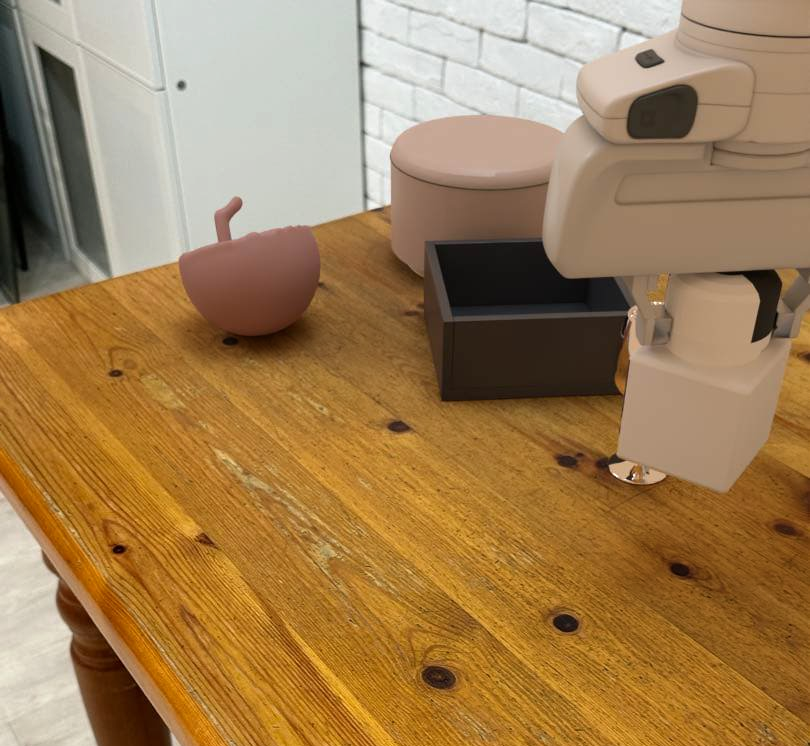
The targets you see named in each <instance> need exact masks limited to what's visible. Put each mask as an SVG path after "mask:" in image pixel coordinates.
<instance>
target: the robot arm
mask: <svg viewBox="0 0 810 746" xmlns="http://www.w3.org/2000/svg"><path fill="white" fill-rule="evenodd" d="M575 83H576V84H575V94H576V95H575V96H576V100H577V103H578V104H577V105H578V107H579V108H580V111H581V113H582V115H580V116H579V117H577V118H576V119H574V121H572V122H571V123H570V125H568V127H566V129H565V131H564V132H563V133H564V134H563V136H562V138H561V140H560V142H559V145H558V147H557V151H556V154H555V158H554V162H553V166H552V171H551V176H550V180H549V186H548V191H547V197H546V204H545V211H544V219H543V231H542V239H543V245H544V249H545V252H546V254H547V256H548V258H549V260H550V262H551V263H552V264H553V266H554V267H555V268H556V269H557V270H558V272H559V273H560V274H561V275H562V276H563V277H565V278H571V279H572V278H594V277H616V276H622V277H623V279H624V281H625V283H626V285H627V287H628V289H629V291H630V293H631V295H632V298H633V300H634V302H635V304H636V306H637V307H638V312H637V319H636V326H635V333H636V338H637V339H638V341H639V343H640V345H641V346H648V345H663V344H667V343H668V341H669V335H668V334H667V333H668V332H669V331H670V329H671V323H672V317H671V316H670V314H669V313H667V312H666V308H665V306H664V304H661V305H652V304H651V302H652V301H651V299H650V298H649V296H648V294H647V292H648V293H650V292H651V293H652V292H656V291H657V290H658V286H659V280H660V275H669V274H683V273H705V272H728V271H751V270H792V269H793V270H796V271H797V273H798V275H797V276H796V278H795V279H794V280H793V281H792V283H791V284H790V286H789V287H788V288H787V290H786V291H785V292H784V294H783V295H782V296H781V298H779V302H778V307H777V311H776V315H775V320H774V324H773V328H772V332H771V337H770V339H789V340H790V339H797V338H798V336H799V334H800V330H801V326H802V322H803V318H804V314H805V313H807V312H808V311H810V0H682V1H681V6H680V15H679V22H678V26H677V27H676V28H674V29H672V30H669V31H667V32H665V33H662V34H660V35H658V36H657V35H656V36H654V37H652V38H650V39H646V40H644V41H642V42H639V43H637V44H634V45H631V46H629V47H625V48H623V49H620V50H618V51H614V52H611V53H609V54H606V55H603V56H600V57H598V58H595V59H593V60H590V61H589V62H586V63H585V64H584V65H582V67H580V69H579V70H578V73H577V77H576V82H575Z"/></svg>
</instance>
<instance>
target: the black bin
mask: <svg viewBox="0 0 810 746" xmlns="http://www.w3.org/2000/svg"><path fill="white" fill-rule="evenodd" d="M635 305H636V304H635V302H634V300H633V298H632V295H631V293H630V291H629V289H628V287H627V285H626V283H625V281H624V279H623V277H622V276H616V277H594V278H572V279H571V278H565V277H563V276H562V275H561V274H560V273H559V272H558V270H557V269H556V268H555V267H554V266H553V264H552V263H551V262H550V260H549V258H548V256H547V254H546V252H545V249H544V245H543V239H542V238H509V239H474V240H439V241H425V249H424V277H423V318H424V322H425V328H426V332H427V338H428V342H429V347H430V352H431V357H432V361H433V366H434V367H433V368H434V373H435V376H436V381H437V386H438V391H439V396H440V400H441V401H442V402H446V401H447V402H449V401H471V400H473V401H475V400H476V401H477V400H498V399H499V400H501V399H523V398H524V399H526V398H549V397H550V398H551V397H578V396H579V397H581V396H605V395H623V394H622V393H621V392H620V391H619V389H618V388H617V386H616V384H615V382H614V379H613V373H612V359H613V353H614V349H615V345H616V341H617V338H618V335H619V332H620V330H621V327H622V325H623V322H624V320H625V318H626V316H627V314H628V311H629V310H630V309H631V308H632V307H633V306H635Z"/></svg>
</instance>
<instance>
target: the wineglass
mask: <svg viewBox="0 0 810 746" xmlns="http://www.w3.org/2000/svg"><path fill="white" fill-rule="evenodd" d="M650 302H651V304H652V305H661V304H664V302H665V301H650ZM637 312H638V307H637V306H636V305H635V306H633V307H632V308H631V309H630V310H629V311H628V314H627V316H626V318H625V320H624V322H623V325H622V327H621V330H620V332H619V335H618V338H617V341H616V345H615V349H614V353H613V359H612V373H613V379H614V382H615V384H616V386H617V388H618V389H619V391H620V392H621V393H622V394H621V395H622V396H624V392H625V384H626V377H627V370H628V363H629V358H630V355H631V354H632V353H633V352H634V351H635V350H636V349H637V348H639V347H640V346H641V345H640V343H639V341H638V339H637V338H636V333H635V326H636V319H637ZM606 466H607V467H606V468H607V469H608V472H609V473H610V474H611V475H613V477H615V478H616V479H618V480H621V481H622V482H625V483H628V484H632V485H642V486H646V485H654V484H657V483H660V482H662V481H664V480H665V479H666V477H667V476H668V475H667V474H664V473H661V472H658V471H655V470H652V469H650V468H647V467H644V466H641V465H638V464H635V463H632V462H630V461H627V460H624V459H621V458H619V457H618V456H617V455H616V452H614V453H612V455H610V456H609V458H608V459H607V462H606Z"/></svg>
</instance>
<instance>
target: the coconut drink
mask: <svg viewBox="0 0 810 746" xmlns="http://www.w3.org/2000/svg"><path fill="white" fill-rule="evenodd" d="M243 203H244V202H243V199H242V197H240V196H236V195H235V196H234V197H232V198H231V199H230V201H229V202H228V203H227V204H226V205H224V207H222V208H220V209H217V210H216V211H215V212H214V215H213V220H214V226H215V232H216V238H217V242H215V243H211V244H207V245H205V246H201V247H198V248H195V249H193V250H191V251H186V252H184V253H182V254H181V255H180V256H179V258H178V263H177V264H178V270H179V275H180V279H181V282H182V286H183V288H184V292H185V293H186V296H187V297H188V299H189V300H190V303H191V304H192V305H193V307H194V308H195V310H197V312H198V313H199V314H201V316H202V317H203V318H204V319H205V320H207V321H208V322H210V323H211V324H212V325H214V326H216V327H217V328H219V329H221V330H223V331H225V332H228V333H232V334H234V335H239V336H246V337H247V336H248V337H258V336H259V337H261V336H265V335H270V334H274V333H277V332H279V331H281V330H284V329H285V328H287V327H289V326H290V325H292V324H293V323H294V322H296V321H297V320H298V319H299V318H300V317H302V315H303V314H304V313H305V312H306V310H307V309H308V308H309V306H310V305H311V303H312V302H313V299H314V297H315V295H316V293H317V289H318V287H319V282H320V277H321V254H320V249H319V246H318V242H317V240H316V237H315V235H314V233H313V230H312V229H311V226H310V225H306V224H303V225H301V224H298V225H295V226H293V225H287V226H285V227H277V228H272V229H271V228H270V229H269V230H264V231H261V232H257V231H251V232H249V233H247V234H246V235H244V236H240V237H239V238H232V233H231V227H230V221H231V220H232V218H234V216H235V215H236V214H237V213H238V212H240V210H241V209H242V207H243Z"/></svg>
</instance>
